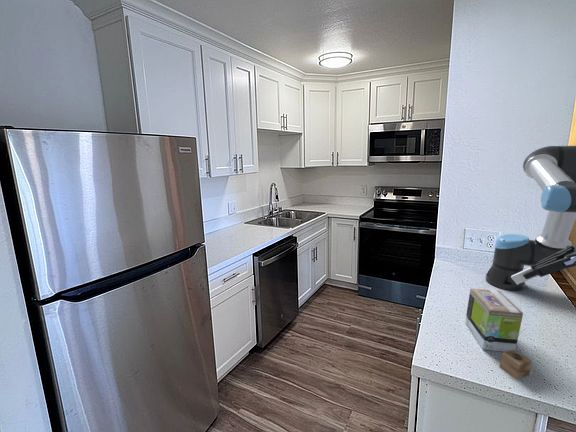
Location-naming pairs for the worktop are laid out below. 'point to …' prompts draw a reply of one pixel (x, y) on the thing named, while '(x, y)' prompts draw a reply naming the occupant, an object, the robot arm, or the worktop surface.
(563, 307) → the worktop surface
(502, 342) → the tea box
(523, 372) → the walnut block
